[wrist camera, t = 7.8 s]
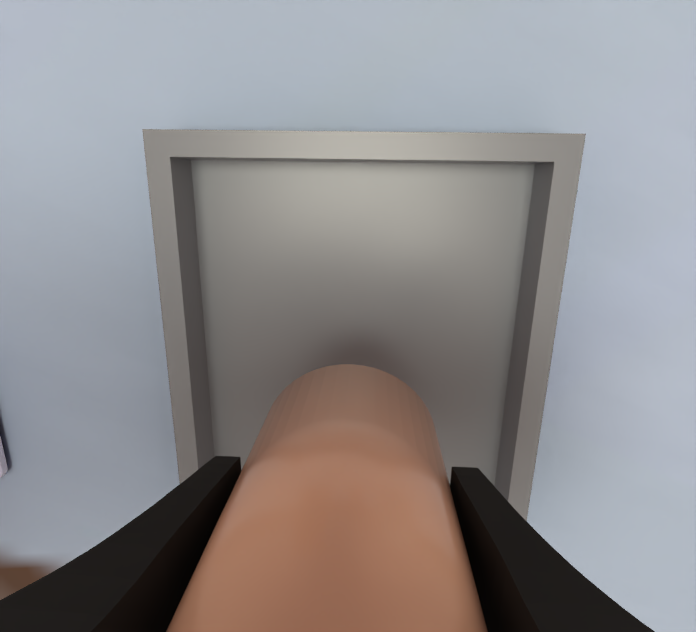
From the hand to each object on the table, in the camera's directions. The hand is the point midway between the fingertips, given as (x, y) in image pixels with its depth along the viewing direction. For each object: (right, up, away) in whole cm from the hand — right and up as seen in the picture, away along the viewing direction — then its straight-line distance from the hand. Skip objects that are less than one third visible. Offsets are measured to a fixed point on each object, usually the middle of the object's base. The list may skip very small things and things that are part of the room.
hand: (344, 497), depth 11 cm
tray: (0, +2, +8) cm, 8 cm away
